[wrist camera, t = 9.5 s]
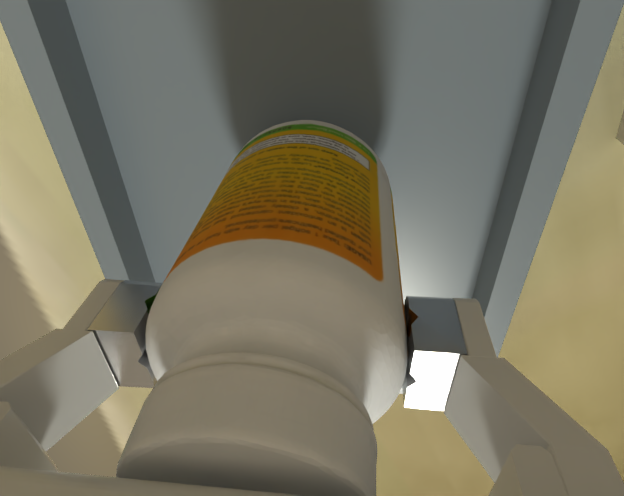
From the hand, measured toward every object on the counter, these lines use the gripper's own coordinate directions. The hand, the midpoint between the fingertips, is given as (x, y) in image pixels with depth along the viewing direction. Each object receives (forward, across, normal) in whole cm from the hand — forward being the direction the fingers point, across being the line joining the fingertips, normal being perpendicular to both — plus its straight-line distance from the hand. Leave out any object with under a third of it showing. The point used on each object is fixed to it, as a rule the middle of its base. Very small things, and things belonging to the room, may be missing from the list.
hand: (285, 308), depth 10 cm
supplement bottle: (+6, 0, 0) cm, 6 cm away
